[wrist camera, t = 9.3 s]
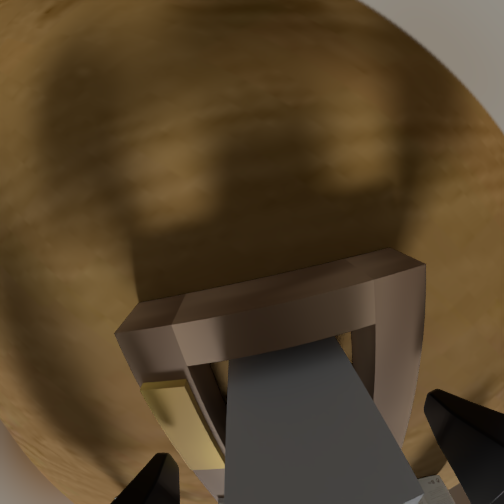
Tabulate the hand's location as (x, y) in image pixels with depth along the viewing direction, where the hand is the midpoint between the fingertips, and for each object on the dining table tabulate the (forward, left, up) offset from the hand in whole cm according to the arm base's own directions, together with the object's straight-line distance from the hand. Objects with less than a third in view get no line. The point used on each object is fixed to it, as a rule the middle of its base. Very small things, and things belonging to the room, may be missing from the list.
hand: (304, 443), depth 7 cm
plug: (0, 0, -4) cm, 4 cm away
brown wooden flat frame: (0, +4, -4) cm, 6 cm away
